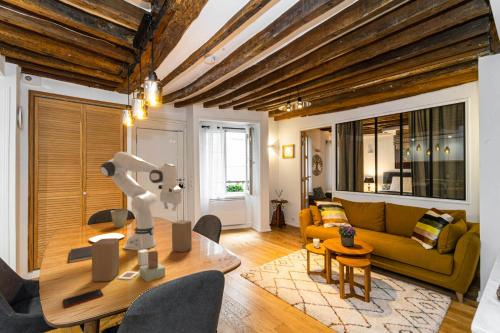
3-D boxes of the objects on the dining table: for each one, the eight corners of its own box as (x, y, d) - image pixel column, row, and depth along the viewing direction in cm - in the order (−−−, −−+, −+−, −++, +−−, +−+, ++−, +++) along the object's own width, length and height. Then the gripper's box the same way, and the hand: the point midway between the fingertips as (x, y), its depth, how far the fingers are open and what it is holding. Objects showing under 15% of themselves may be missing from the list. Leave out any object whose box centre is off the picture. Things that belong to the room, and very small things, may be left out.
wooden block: (101, 273, 135) (101, 238, 135) (120, 272, 136) (119, 237, 136) (91, 282, 125) (90, 244, 125) (111, 281, 126) (111, 243, 126)
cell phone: (62, 301, 109) (62, 299, 109) (100, 290, 118) (100, 288, 118) (63, 309, 103) (63, 307, 103) (103, 297, 112) (103, 294, 112)
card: (117, 279, 129) (117, 277, 129) (126, 272, 137) (126, 270, 137) (131, 279, 128) (131, 278, 128) (139, 273, 136) (139, 271, 136)
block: (192, 248, 175) (191, 220, 175) (182, 253, 166) (182, 223, 166) (181, 246, 179) (181, 219, 179) (171, 250, 170) (171, 222, 170)
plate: (99, 246, 181) (99, 243, 181) (84, 241, 193) (84, 238, 193) (129, 238, 200) (129, 235, 200) (113, 234, 213) (113, 231, 213)
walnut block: (148, 266, 134) (148, 251, 134) (156, 264, 136) (156, 250, 136) (149, 269, 130) (148, 254, 130) (157, 267, 132) (157, 253, 132)
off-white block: (137, 264, 148) (137, 251, 148) (145, 261, 152) (145, 249, 151) (141, 266, 145) (141, 252, 145) (148, 263, 149) (148, 250, 149)
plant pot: (107, 228, 229) (107, 211, 229) (118, 224, 244) (118, 208, 244) (121, 229, 227) (121, 212, 226) (131, 225, 241) (131, 209, 241)
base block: (139, 276, 133) (139, 266, 133) (157, 270, 140) (157, 261, 140) (146, 282, 126) (146, 272, 126) (165, 276, 133) (165, 267, 133)
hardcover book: (97, 248, 178) (97, 244, 178) (98, 258, 159) (98, 254, 159) (70, 252, 169) (70, 249, 169) (68, 263, 150) (68, 260, 150)
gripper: (157, 188, 163) (157, 208, 163) (174, 190, 149) (174, 212, 150) (165, 187, 167) (166, 207, 168) (183, 189, 154) (183, 210, 154)
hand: (170, 209), depth 158 cm, fingers open, 8 cm apart
